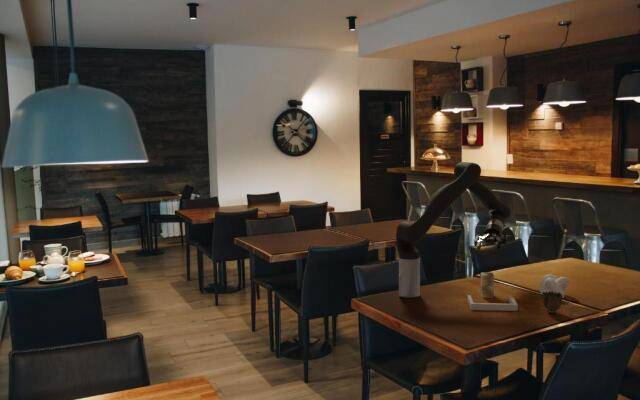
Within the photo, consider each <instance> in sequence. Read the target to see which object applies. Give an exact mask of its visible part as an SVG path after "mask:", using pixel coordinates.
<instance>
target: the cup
mask: <svg viewBox="0 0 640 400" xmlns="http://www.w3.org/2000/svg"><path fill="white" fill-rule="evenodd" d="M542 294H543V295H542ZM542 294H541V295H542V302H543V306H544V307H545V309H547V310H546V312H547V313H548V314H550V315H555V314H557V312H558V310H559V309H560V308H561V306H562V303H563V298H562V296H563V295H561V294H560V292H558V293H556V292H555V294H554V293H553V291H552V292H550V291H549V292H546V293H545V292H543V293H542Z"/></svg>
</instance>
